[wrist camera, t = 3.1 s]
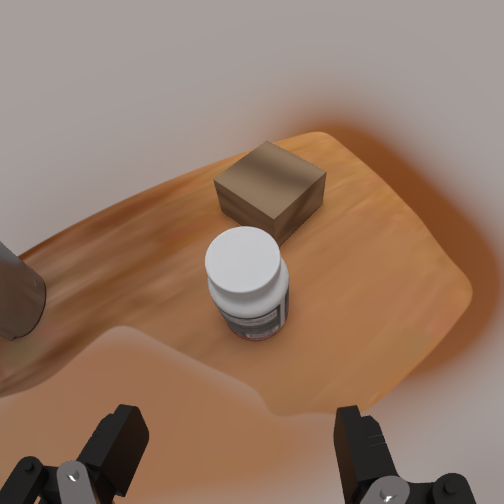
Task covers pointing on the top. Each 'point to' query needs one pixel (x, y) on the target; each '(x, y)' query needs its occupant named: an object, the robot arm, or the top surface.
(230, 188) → the walnut block
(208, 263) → the pill bottle
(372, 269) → the top surface
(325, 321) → the top surface
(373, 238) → the top surface
